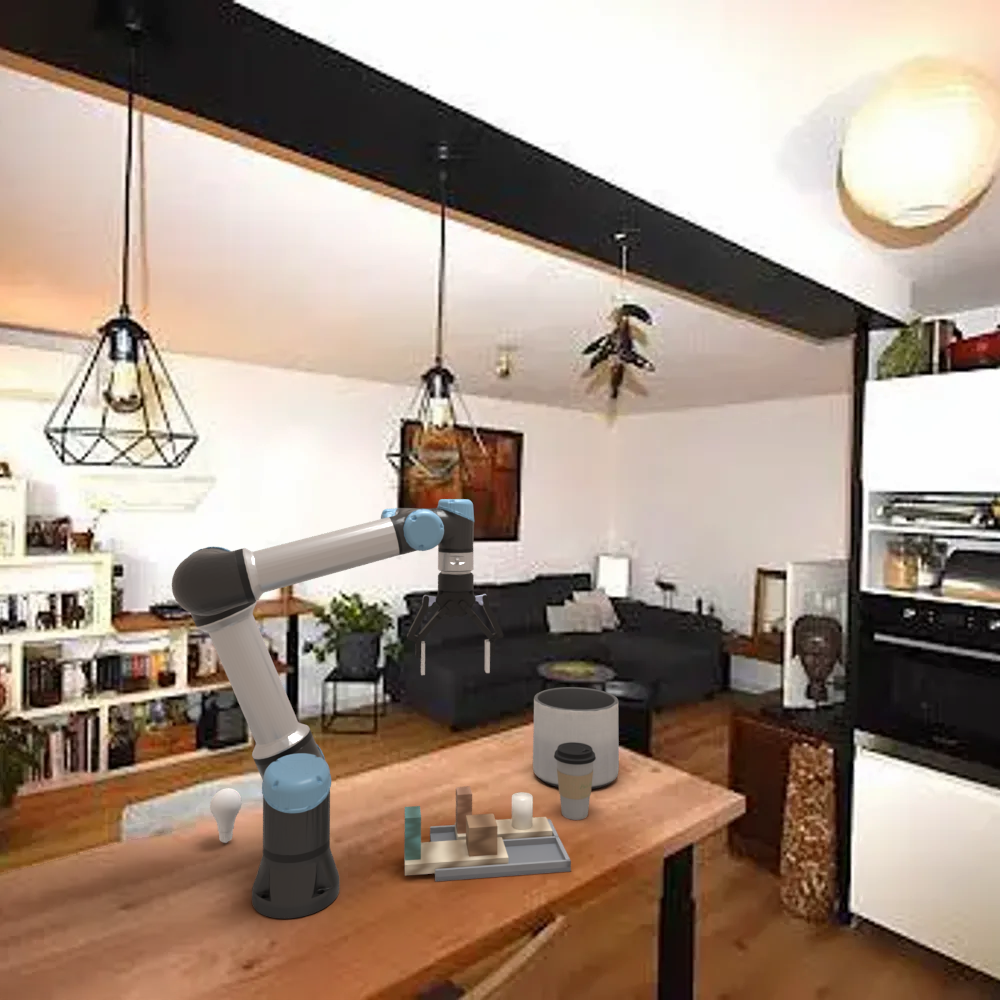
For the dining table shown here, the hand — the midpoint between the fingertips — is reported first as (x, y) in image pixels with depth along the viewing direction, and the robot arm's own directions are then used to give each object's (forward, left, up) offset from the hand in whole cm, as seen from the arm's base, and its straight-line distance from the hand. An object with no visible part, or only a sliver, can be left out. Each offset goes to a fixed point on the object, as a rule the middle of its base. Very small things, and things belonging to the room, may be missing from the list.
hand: (455, 672), depth 150 cm
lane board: (+8, -8, -35) cm, 36 cm away
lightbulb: (-47, +4, -35) cm, 59 cm away
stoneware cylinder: (+14, -3, -32) cm, 35 cm away
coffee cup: (+28, +7, -35) cm, 45 cm away
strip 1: (-1, -12, -35) cm, 37 cm away
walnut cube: (+4, -12, -32) cm, 34 cm away
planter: (+34, +29, -35) cm, 57 cm away
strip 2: (+10, -3, -34) cm, 35 cm away
